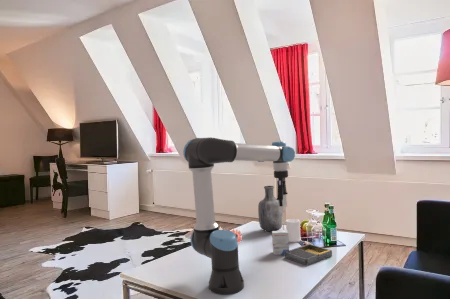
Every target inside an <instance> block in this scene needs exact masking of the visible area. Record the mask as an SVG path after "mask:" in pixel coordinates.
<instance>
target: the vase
mask: <svg viewBox="0 0 450 299" xmlns="http://www.w3.org/2000/svg"><path fill="white" fill-rule="evenodd" d="M263 189H264V194H265V195H264V198H263V199H261V200H260V201H259V202H258V205H257V206H258V209H257V211H258V212H257V213H258V215H257V216H258V224H259V227H260V228H261V230H263V231H264V232H269V233H272V231H280V230H281V229H282V228H283V224H284V220H283V219H284V218H283V216H284V215H283V214H284V212H279V204H278V200H277V197H275V194H274V189H275V185H266V186H265V185H264V186H263Z"/></svg>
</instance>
